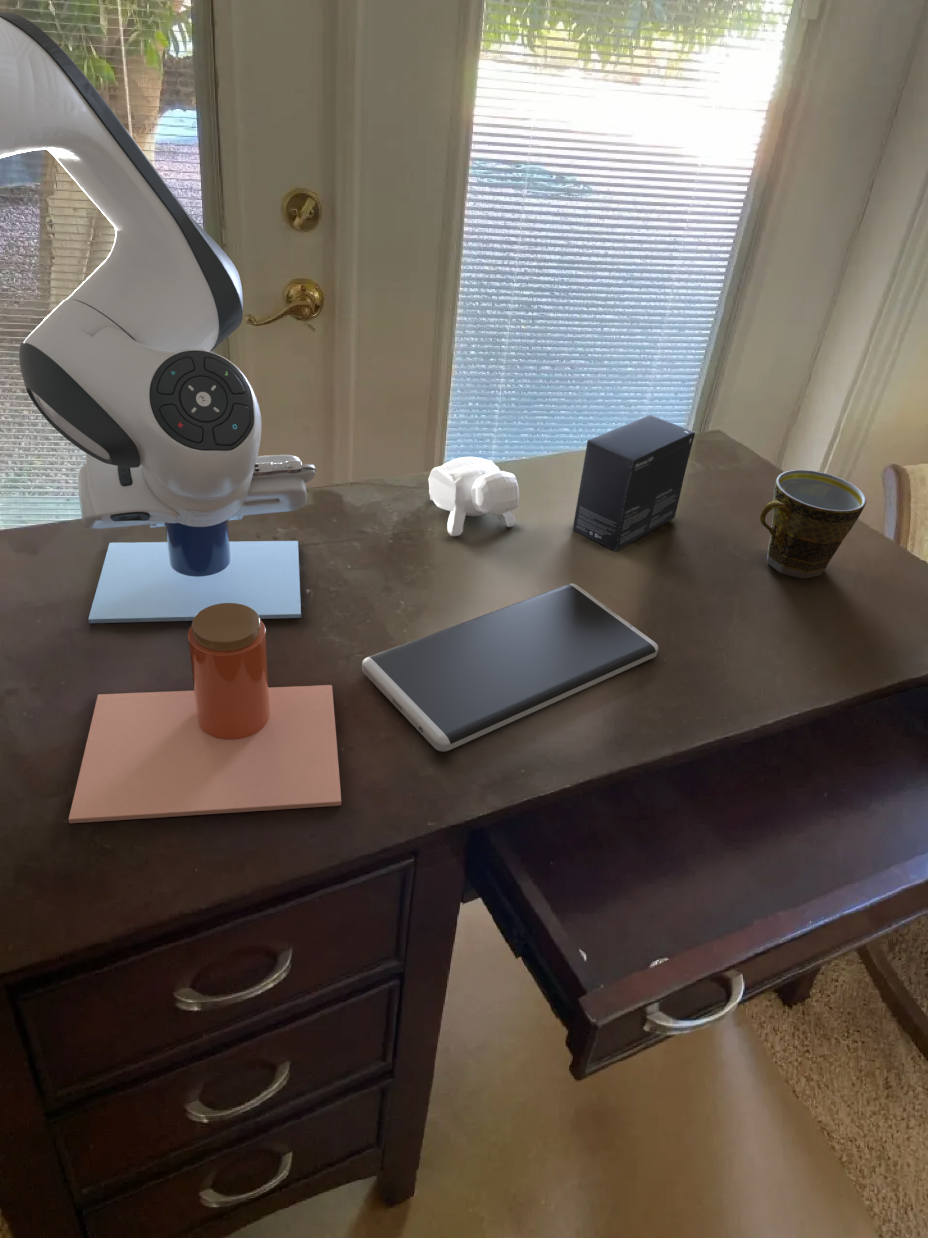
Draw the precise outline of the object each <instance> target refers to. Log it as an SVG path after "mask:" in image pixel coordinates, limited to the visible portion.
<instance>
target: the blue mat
mask: <svg viewBox="0 0 928 1238" xmlns="http://www.w3.org/2000/svg"><path fill="white" fill-rule="evenodd" d="M229 543H230V557H231V560H230V563H229V565H228V566H227V567H226V568H225V569H224V570H222V571H221V572H218V573H216V574H213V575H209V576H201V577H194V576H187V575H183V574H180V573H178V572H176V571H175V570H174V569H173V568H172V567H171V565H170V560H169V552H168V544H167V541H158V542H157V541H152V542H151V541H150V542H149V541H148V542H147V541H145V542H144V541H143V542H141V541H140V542H138V541H137V542H109V544H108V547H107V550H106V555H105V558H104V561H103V565H102V569H101V572H100V576H99V579H98V583H97V586H96V591H95V594H94V597H93V601H92V604H91V607H90V608H91V609H90V611H89V616H88V619H87V620H88V624H115V623H116V624H117V623H118V624H119V623H156V622H160V623H161V622H193V619H194V617H195V616H196V615H197V614H198V613H199V612H200V611H201V610H203V609H205V608H207V607H209V606H212V605H216V604H221V603H237V604H242V605H245V606H248V607H250V608H252V609H253V610H254V611H256V613H257V614H258V615H259V618H260V620H269V619H270V620H271V619H301V618H302V607H301V605H302V603H301V601H302V600H301V582H300V580H301V578H300V577H301V576H300V556H299V540H259V541H257V540H255V541H253V540H252V541H251V540H250V541H229Z"/></svg>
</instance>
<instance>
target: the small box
mask: <svg viewBox="0 0 928 1238" xmlns="http://www.w3.org/2000/svg"><path fill="white" fill-rule="evenodd" d="M695 436H696V431H693V430H690V429H688V428H686V427H684V426H681V425H678V424H676V423H673V422H671V421H668V420H666V419H662V418H660V417H658V416H655V415H652V414H648V415H646V416H644V417H642V418H639V419H636V420H634V421H631V422H629V423H626V424H624V425H623V426H619V427H617V428H615V429H614V428H613V429H612V430H610V431H607V432H605V433H602V434H599V435H598V436H595V437H593V438H590V439H588V440H587V441H586V447H585V454H584V459H583V466H582V470H581V477H580V482H579V483H580V484H579V490H578V494H577V495H578V496H577V502H576V507H575V514H574V518H573V525H572V530H574V531H576V533H579V534H581V535H583V536H585V537H587V538H589V539H591V540H593V541H594V542H597V543H599V544H601V545H602V546H604V547H606V548H608V549H611V550H612V551H614V552H616V551H619V550H620V549H622V548H624V547H625V546H628V545H629V544H632V543H633V542H634V541H636V540H638V539H640V538H641V537H643V536H645V535H647V534H648V533H651V532H652V531H654V530H656V529H657V528H659V527H661V526H663V525H664V524H666V523H668V522H670V521H672V520H673V519H675V518H676V513H677V510H678V505H679V502H680V497H681V492H682V487H683V483H684V480H685V474H686V472H687V471H686V470H687V467H688V463H689V458H690V455H691V451H692V447H693V443H694V440H695Z"/></svg>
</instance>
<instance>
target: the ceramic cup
mask: <svg viewBox="0 0 928 1238" xmlns="http://www.w3.org/2000/svg"><path fill="white" fill-rule="evenodd" d="M773 489H774V490H773V496H772V497H773V498H772V501H769V502H768V503H767V504H766V505H765V506H764V508H763V509H762V511H761V513H760V516H759V520H760V523H761V525H762V526H763V527H764V528H766V530H768V532H769V534H770V535H769V541H768V548H767V556H766V563H767V564H768V565H769V566H771V567H772V568H773V569H775V570H776V571H777V572H778V573H780V574H782V575H786V576H791V577H794V578H799V579H803V580H804V579H810V578H813V577H818V576H820V575H822V574H823V573H824V572H825V570H826V568H827V567H828V565H829V563H830V562H831V561H832V558H833V557H834V556H835V554H836V553H837V551H838V549H839V548H840V546H841V544H842V543H843V541H844V539H845V538H846V536H848V534H849V533H850V531H851V530H852V529H853V527H854V525H855V524H856V522H857V521H858V519H859V518H860V516H861V514H862V512H863V510H864V509H865V507H866V505H867V498H866V495H865V493H863V491H862V490H860V488H858V487H857V486H856V485H855V484H853V483H851V482H850V481H847V480H845V479H844V478H841V477H838V476H836V475H832V474H829V473H827V472H826V473H825V472H821V471H816V470H810V469H809V470H808V469H794V470H787V471H784V472H782V473H779V475H778V476H777V477H776V479H775V484H774V488H773ZM771 511H772V514H771V515H772V516H771V517H772V520H771V525H769V524H768V523H767V522H766V517H767V515H768V514H769V512H771Z"/></svg>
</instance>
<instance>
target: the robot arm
mask: <svg viewBox="0 0 928 1238" xmlns="http://www.w3.org/2000/svg"><path fill="white" fill-rule="evenodd" d="M41 150H42V151H43V150H46V151H48V152H49V153H50V154H51V155H52V156H53V157H54V158H55V159H56V161H57V162H58V163H59V164H60V165H61V167H63V169H64V170H65V171H66V173H67V174H68V175H69V176H70V177H71V179H73V180H74V182H75V183H76V184H77V185H78V186H79V188H80V189H81V191H83V192H84V193H85V194H86V196H87V197H88V198H89V199H90V201H92V203H93V204H94V205H95V206H96V207H97V209H99V211H100V212H101V213H102V214H103V216H105V218H106V219H107V220H108V221H109V223H110V224H111V225H112V226H113V227H114V231H115V237H114V242H113V246H112V248H111V250H110V252H109V254H108V256H107V257H106V259H105V260H104V261H103V262H102V263H101V264H99V266H98V267H97V268H96V269H95V270H94V271H93V272H92V273H91V274H90V275H89V276H88V277H87V278H86V279H84V281H83V282H82V283H81V284H80V285H79V286H78V287H77V288H76V289H75V290H73V292H72V293H71V294H70V295H69V296H68V297H67V298H66V299H63V300H62V301H61V302H60V303H59V304H58V305H57V306H56V307H55V308H54V309H53V310H52V311H51V312H50V313H49V314H48V315H47V316H46V317H45V318H44V319H43V320H42V321H41V322H40V323H39V325H37V326H36V327H35V329H33V331H31V333H30V334H29V335H28V336H27V337H26V338H25V339H24V341H23V342H21V343H20V344H19V349H18V362H19V367H20V372H21V377H22V380H23V384H24V386H25V387H24V388H25V390H26V393H27V395H28V396H29V398H30V400H31V401H32V403H33V405H34V406H35V407H36V409H37V411H39V413H40V414H41V415H42V416H43V418H44V419H45V421H47V422H48V423H49V424H50V425H51V427H53V428H54V429H55V431H57V432H58V433H59V434H60V435H62V437H63V438H65V439H66V440H67V441H68V442H70V444H72V445H74V446H75V447H76V448H77V449H79V450H81V451H82V452H84V453H85V463H84V464H83V465H82V466H81V467H80V469H79V471H78V475H77V492H78V501H79V508H80V517H81V523H82V525H83V527H84V528H85V529H89V530H90V529H91V530H101V529H109V528H110V529H112V528H120V527H121V528H122V527H133V526H134V527H135V526H143V525H145V526H146V525H149V528H150V529H152V528H153V529H155V528H165V526H166V523H180V524H183V525H187V526H193V527H206V526H212V525H216V524H219V523H221V522H224V521H226V520H227V519H228V522H229V521H239V520H243V519H244V518H243V517H245V516H254V515H264V514H277V513H289V512H295V511H298V510H301V509H303V508H304V507H305V506H306V505H307V499H308V493H307V486H306V483H309V482H311V481H312V480H313V479H314V478H315V476H316V472H317V469H316V467H315V465H314V464H313V463H305V464H304V463H303V462H302V460H301V459H300V458H299V456H296V455H294V454H293V455H292V454H272V455H259V451H260V447H261V439H262V426H263V425H262V414H261V409H260V405H259V402H258V399H257V396H256V393H255V392H254V389H253V386H251V385H252V384H251V383H250V382H249V380H248V379H247V377H246V375H245V374H244V373H243V372H242V370H241V369H240V368H239V367H238V366H237V365H236V364H234V363H233V362H232V361H230V360H229V359H228V358H226V357H224V356H223V355H220V354H218V353H216V352H213V351H214V350H215V349H216V348H217V347H219V346H220V345H222V343H223V342H224V341H225V340H226V339H227V338H229V337H230V336H231V335H232V334H233V333H234V332H235V331H236V330H237V329H238V328H239V327H240V326H241V325H242V323H243V316H244V297H243V296H244V295H243V288H242V282H241V278H240V274H239V271H238V269H237V267H236V266H235V264H234V263H233V261H232V259H231V258H230V256H228V255H227V253H226V252H225V251H224V250H223V248H222V247H221V246H220V245H219V244H218V243H217V241H215V239H214V238H212V237H211V235H210V234H209V233H208V232H206V230H205V229H204V228H203V227H202V226H201V225H200V224H199V223H198V222H197V221H196V220H195V218H194V217H192V215H191V214H190V213H189V212H188V211H187V209H186V208H185V207H184V206H183V204H182V203H181V201H180V200H179V199H178V198H177V196H176V195H175V193H174V192H173V190H172V189H171V187H169V185H168V184H167V182H166V181H165V180H164V178H163V177H162V175H161V174H160V173H159V172H158V170H157V169H156V167H155V166H154V165H153V164H152V162H151V161H150V159H149V158H148V157H147V155H146V154H145V153H144V151H143V150H142V148H141V147H140V146H139V145H138V143H137V141H136V140H135V139H134V138H133V136H132V135H131V133H130V132H129V131H128V129H127V128H126V127H125V125H124V124H123V123H122V121H121V120H120V118H119V117H118V116H117V115H116V114H115V112H114V110H113V109H112V108H111V107H110V105H109V104H108V103H107V101H106V100H105V99H104V97H103V96H102V94H100V92H99V91H98V90H97V89H96V88H95V86H94V85H93V83H92V82H91V81H90V80H89V78H88V76H86V75H85V73H84V72H83V71H82V70H81V69H80V67H79V66H78V65H77V64H76V63H75V62H74V60H73V59H72V58H71V57H70V56H69V55H68V53H66V51H65V50H64V49H63V48H62V47H61V46H60V45H59V44H58V43H57V42H56V41H55V40H54V39H53V38H51V37H50V36H49V35H48V34H47V33H46V32H45V31H44V30H42V28H40V27H38V26H37V25H36V24H35V23H34V22H32V21H30V20H29V19H28V18H25V17H23V16H22V15H19V14H17V13H13V12H7V11H0V159H2V158H6V157H10V156H14V155H17V154H23V153H27V152H32V151H41Z"/></svg>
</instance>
